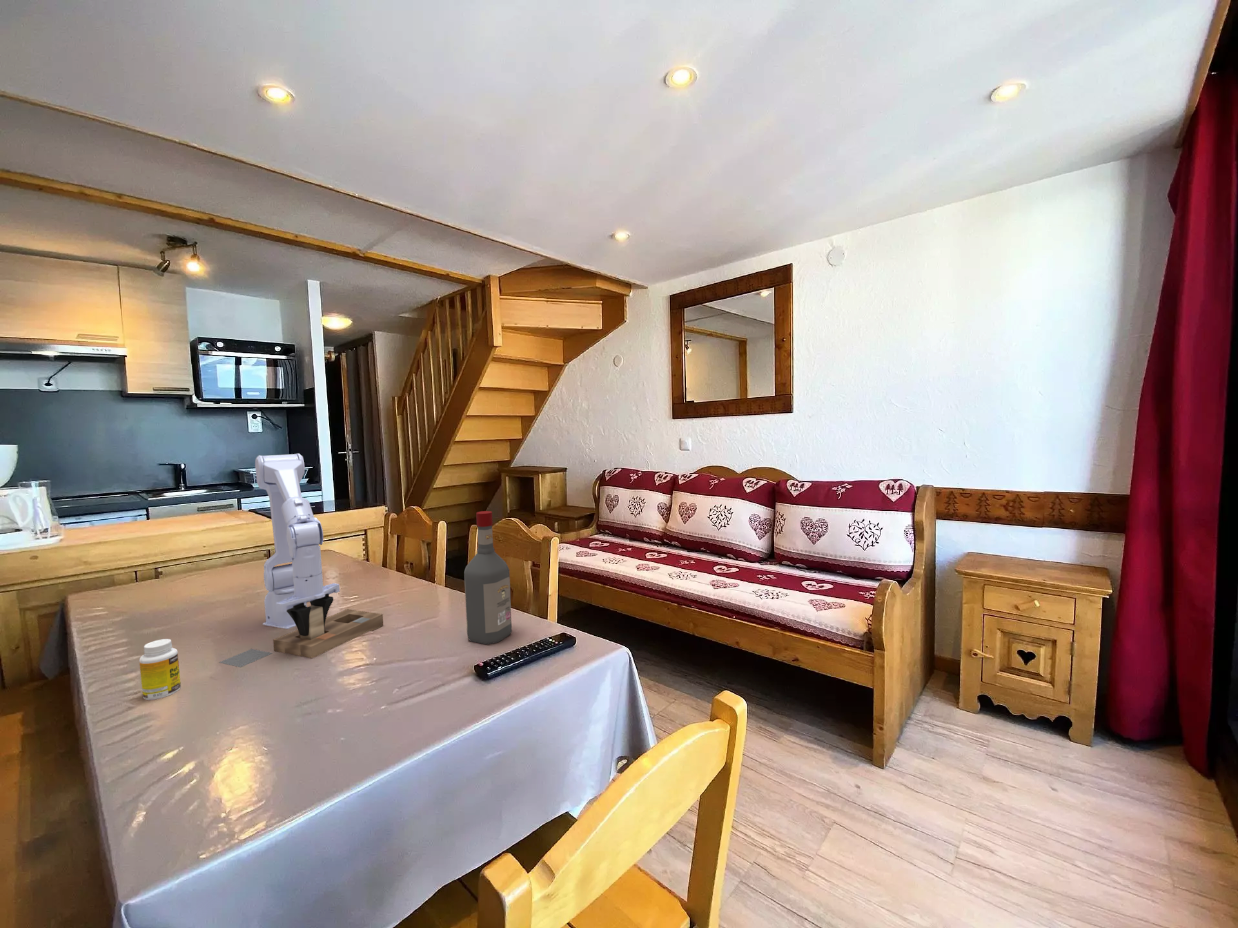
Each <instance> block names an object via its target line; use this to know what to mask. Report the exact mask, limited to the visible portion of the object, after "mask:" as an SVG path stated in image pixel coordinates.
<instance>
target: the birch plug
mask: <svg viewBox="0 0 1238 928" xmlns="http://www.w3.org/2000/svg"><path fill="white" fill-rule="evenodd" d="M308 607H311V610H310V615H309V635H308V636H301V635H300V638H302V639H307V640H311V639H314V638H316V637H318V636H320V635H323V634H324V621H323V607H320V606H313V605H312V606H311V605H309V606H308Z"/></svg>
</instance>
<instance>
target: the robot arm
mask: <svg viewBox="0 0 1238 928" xmlns="http://www.w3.org/2000/svg"><path fill="white" fill-rule="evenodd" d="M254 469H255V477H256V485H257V486H258V489H261V490H265V491H266V493H267V496H268V498H269V500H268V501H269V507H270V516H271V524H272V525H271V526H272V533H273V543H274V551H275V553H273V555H271V556H270V557H269V558H268V559H266V561H265V562H264V564H263V582H264V587H265V589H266V591H268V592H266V593H267V594H266V595H265V597H264V601H263V602H264V614H265V622H262V625H263V626H266V627H267V626H268V627H273V628H274V627H275V628H279V629H286V630H289V629H292V628H294V627H296V628H297V629H296V630H298V631H299V634H300V635H301V636H308V635H309V615H310V610H311V607H309V606H308V605H307V603H309V604H310V606H312V605H313V606H320V607H323V621H324V626H325V621H326V618H327V617H328V613H329V611H330V608H331V606H332V603H333V602H334V597H333V596H330V595H332V594H335V593H336V594H337V593H339V592H340V588H341V587H340V583H336V582H335V583H330V584H327V585H324V581H323V580H324V579H323V567H322V564H323V563H322V554H321V553H322V552H321V546H322V545H323V543H324V530H323V526H322V523H321V521H320V520H319V519H318V517H315V516H314V513H313V510H312V507H311V504H310V502H309V500H308V499H307V498H304V497H303V496H302V492H301V486H300V483H301V481H302V480H303V476H304V475H305V472H306V471H305V469H306V467H305V462H304V456H303V455H301V454H300V453H294V454H293V453H291V454H273V455H262V454H261V455H260V454H259V455H257V456H256V457H255V461H254ZM288 563H289V564H288Z"/></svg>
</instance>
